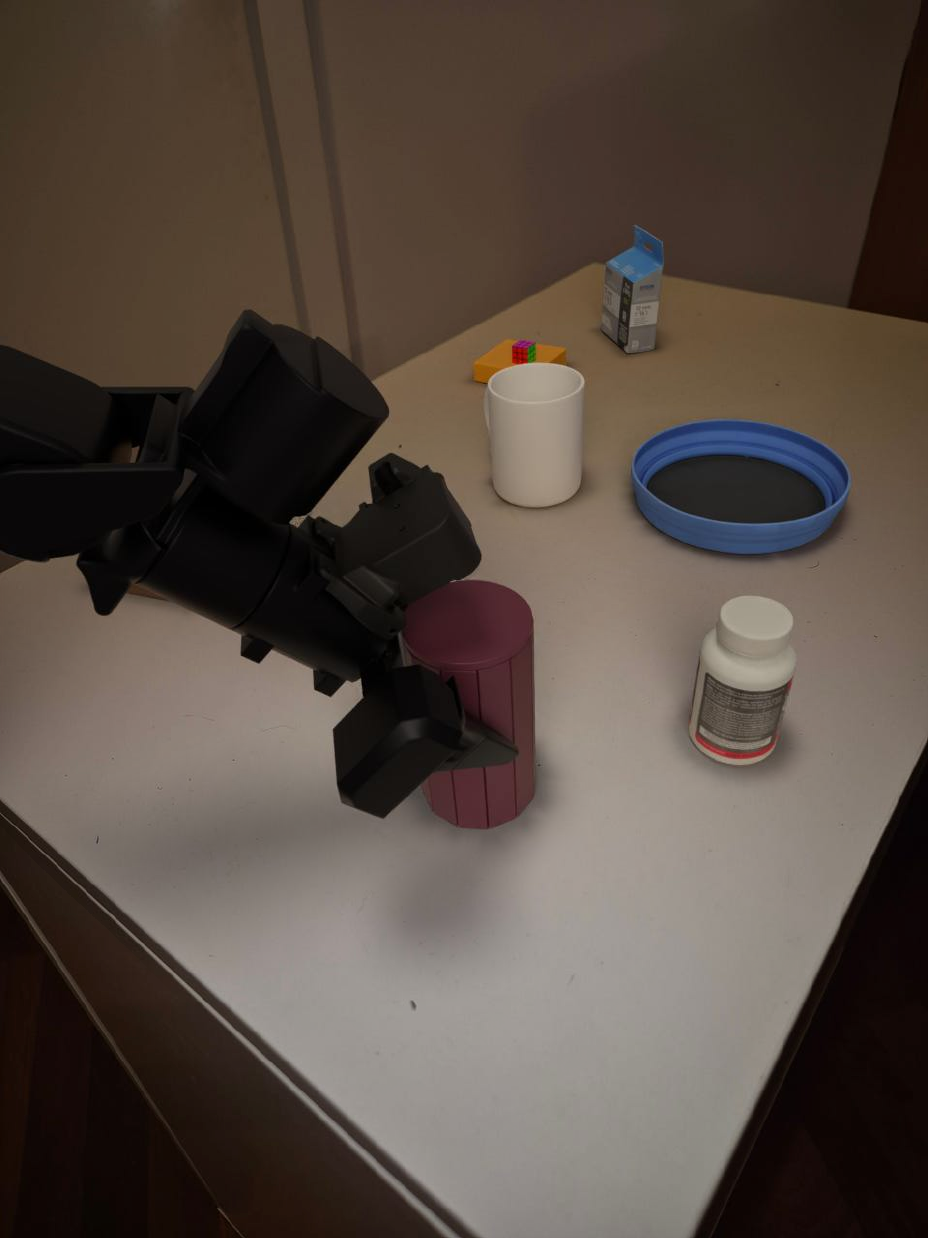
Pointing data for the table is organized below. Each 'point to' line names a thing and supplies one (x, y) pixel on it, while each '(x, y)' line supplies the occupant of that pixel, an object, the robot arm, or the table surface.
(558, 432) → the mug
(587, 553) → the table surface
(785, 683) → the pill bottle
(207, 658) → the table surface
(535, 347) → the orange slab with cube
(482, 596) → the maroon grooved cylinder
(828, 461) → the bowl
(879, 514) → the table surface
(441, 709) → the robot arm
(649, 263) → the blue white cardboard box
